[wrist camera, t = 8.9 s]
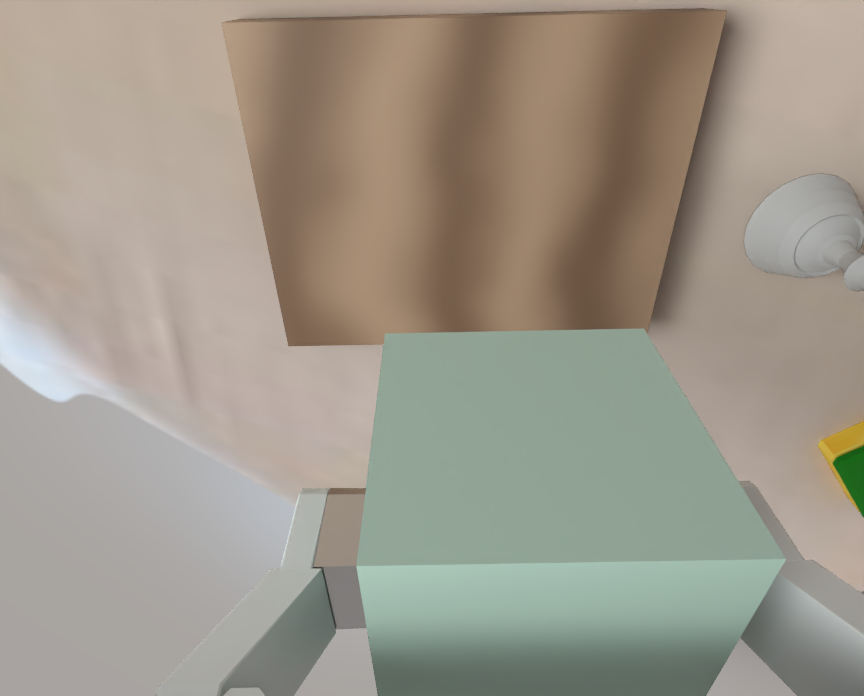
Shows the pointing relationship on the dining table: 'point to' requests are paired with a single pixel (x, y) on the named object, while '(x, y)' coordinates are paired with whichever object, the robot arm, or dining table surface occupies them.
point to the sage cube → (550, 522)
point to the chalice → (809, 230)
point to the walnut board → (470, 165)
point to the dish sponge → (847, 461)
